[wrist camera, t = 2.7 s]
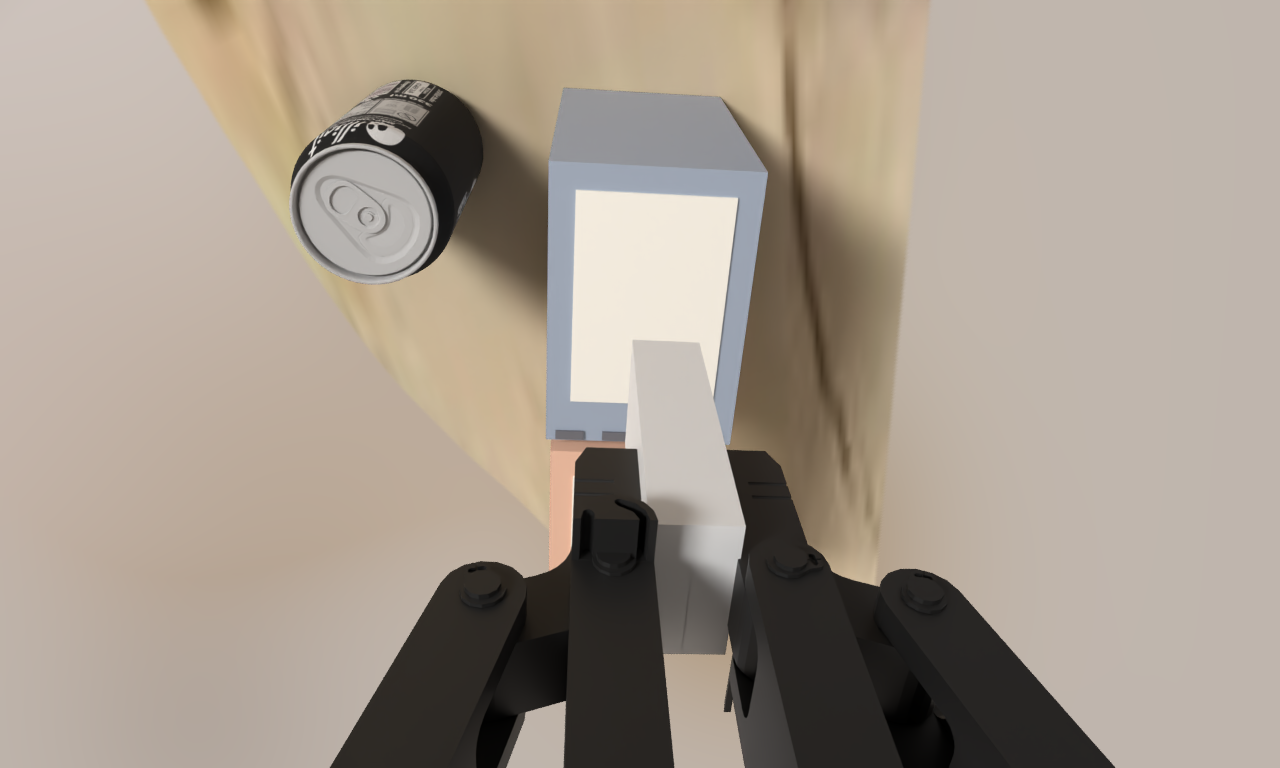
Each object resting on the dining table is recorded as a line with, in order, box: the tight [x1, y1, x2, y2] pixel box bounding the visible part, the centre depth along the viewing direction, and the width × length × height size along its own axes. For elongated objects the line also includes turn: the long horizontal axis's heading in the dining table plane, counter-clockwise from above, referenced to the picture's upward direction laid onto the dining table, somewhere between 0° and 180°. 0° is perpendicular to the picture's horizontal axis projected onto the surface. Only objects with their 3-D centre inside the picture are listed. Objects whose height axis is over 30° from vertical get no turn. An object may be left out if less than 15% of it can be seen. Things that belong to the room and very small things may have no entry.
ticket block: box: [546, 88, 768, 445], centre depth 39 cm, size 12×8×14 cm, turn 176°
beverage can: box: [289, 80, 483, 285], centre depth 38 cm, size 7×7×12 cm
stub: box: [549, 439, 625, 571], centre depth 39 cm, size 8×8×1 cm
